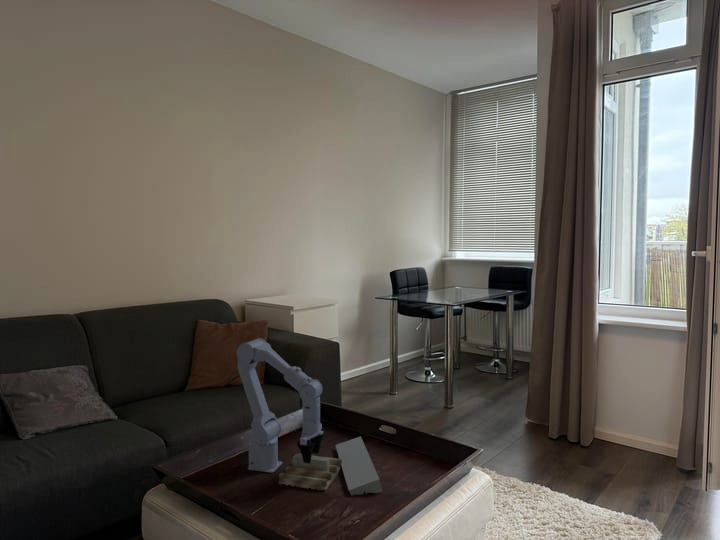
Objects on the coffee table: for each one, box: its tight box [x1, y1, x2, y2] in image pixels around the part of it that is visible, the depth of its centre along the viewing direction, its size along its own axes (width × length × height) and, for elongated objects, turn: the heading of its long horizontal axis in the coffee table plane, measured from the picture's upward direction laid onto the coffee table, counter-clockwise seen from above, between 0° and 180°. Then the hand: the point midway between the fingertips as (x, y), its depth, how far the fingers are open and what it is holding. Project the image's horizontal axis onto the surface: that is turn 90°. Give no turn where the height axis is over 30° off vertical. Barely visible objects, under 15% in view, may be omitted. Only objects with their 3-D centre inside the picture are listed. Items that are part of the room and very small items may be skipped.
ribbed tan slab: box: [278, 453, 342, 492], centre depth 167 cm, size 16×17×3 cm
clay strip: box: [292, 453, 330, 472], centre depth 167 cm, size 12×2×5 cm, turn 74°
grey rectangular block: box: [335, 436, 383, 496], centre depth 172 cm, size 34×5×10 cm
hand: (311, 457), depth 167 cm, fingers open, 7 cm apart
